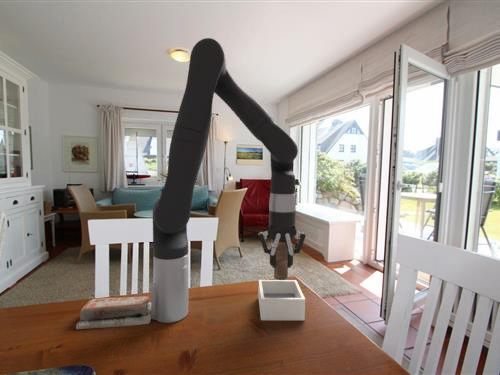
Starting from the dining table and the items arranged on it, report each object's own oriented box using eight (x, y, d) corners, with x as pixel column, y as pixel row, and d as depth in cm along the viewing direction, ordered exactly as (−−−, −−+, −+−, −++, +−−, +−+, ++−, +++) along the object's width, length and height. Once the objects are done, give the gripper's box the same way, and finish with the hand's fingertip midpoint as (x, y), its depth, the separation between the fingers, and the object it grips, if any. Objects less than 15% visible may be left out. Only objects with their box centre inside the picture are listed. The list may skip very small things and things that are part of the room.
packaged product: (74, 313, 65) (91, 294, 75) (74, 331, 65) (91, 310, 75) (150, 307, 68) (157, 290, 78) (150, 325, 68) (157, 305, 78)
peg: (274, 280, 75) (275, 242, 74) (273, 274, 79) (273, 238, 78) (288, 280, 75) (289, 242, 74) (286, 274, 79) (287, 238, 78)
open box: (260, 320, 71) (261, 299, 70) (258, 298, 83) (258, 279, 82) (304, 320, 71) (305, 299, 71) (295, 298, 83) (296, 280, 83)
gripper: (258, 211, 71) (257, 272, 72) (310, 211, 71) (308, 271, 73) (256, 206, 78) (256, 262, 80) (303, 206, 79) (302, 262, 80)
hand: (281, 266), depth 76 cm, fingers closed on peg, 4 cm apart
